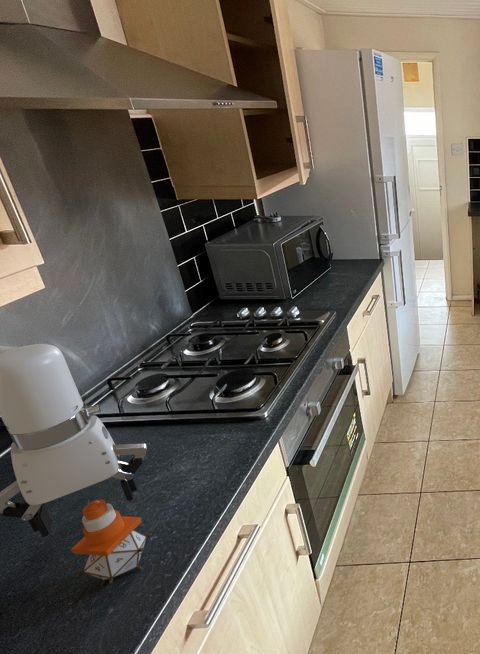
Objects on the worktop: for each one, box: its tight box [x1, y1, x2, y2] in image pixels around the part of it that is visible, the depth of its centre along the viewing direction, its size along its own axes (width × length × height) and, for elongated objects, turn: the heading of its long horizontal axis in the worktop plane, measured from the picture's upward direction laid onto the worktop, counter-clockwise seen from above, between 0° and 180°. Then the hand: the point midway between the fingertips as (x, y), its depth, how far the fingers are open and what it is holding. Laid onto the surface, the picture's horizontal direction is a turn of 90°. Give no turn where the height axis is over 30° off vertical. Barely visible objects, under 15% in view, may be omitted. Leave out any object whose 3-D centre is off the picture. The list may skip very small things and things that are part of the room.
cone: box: [70, 499, 143, 556], centre depth 67 cm, size 6×6×8 cm
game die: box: [75, 529, 153, 586], centre depth 70 cm, size 9×8×10 cm
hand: (91, 511), depth 67 cm, fingers open, 9 cm apart
